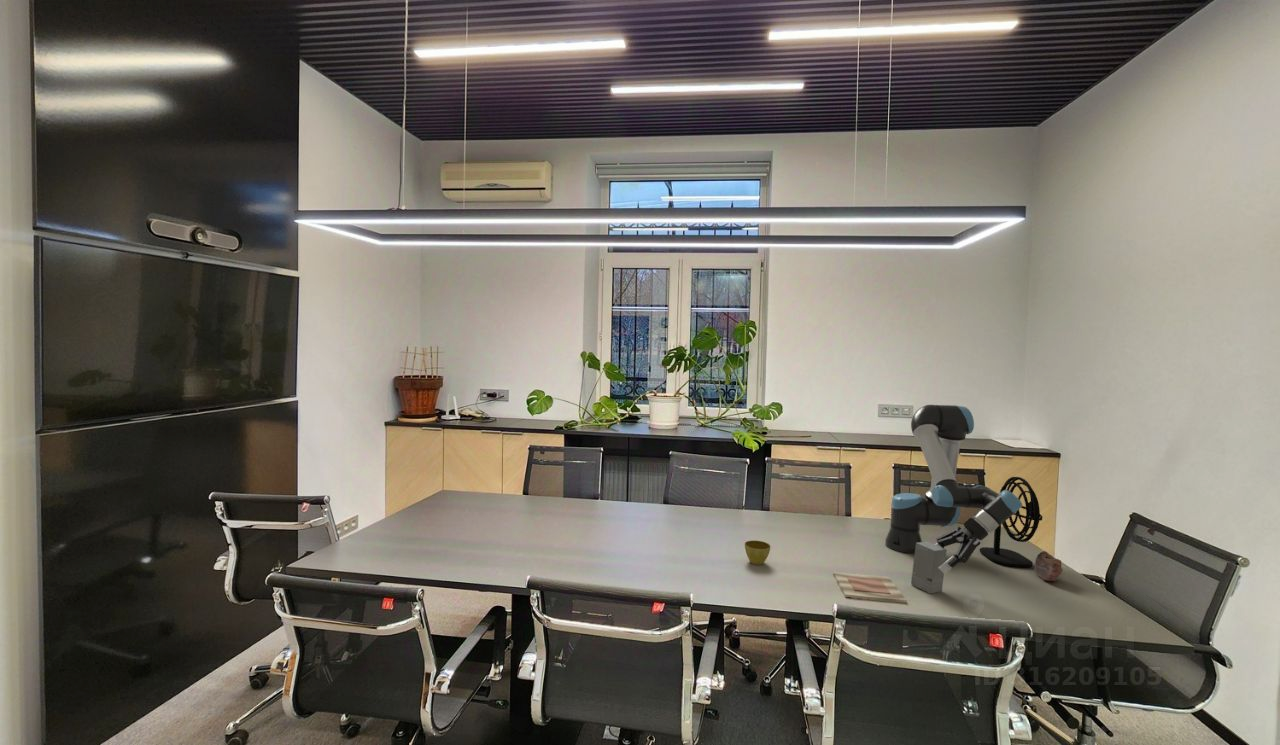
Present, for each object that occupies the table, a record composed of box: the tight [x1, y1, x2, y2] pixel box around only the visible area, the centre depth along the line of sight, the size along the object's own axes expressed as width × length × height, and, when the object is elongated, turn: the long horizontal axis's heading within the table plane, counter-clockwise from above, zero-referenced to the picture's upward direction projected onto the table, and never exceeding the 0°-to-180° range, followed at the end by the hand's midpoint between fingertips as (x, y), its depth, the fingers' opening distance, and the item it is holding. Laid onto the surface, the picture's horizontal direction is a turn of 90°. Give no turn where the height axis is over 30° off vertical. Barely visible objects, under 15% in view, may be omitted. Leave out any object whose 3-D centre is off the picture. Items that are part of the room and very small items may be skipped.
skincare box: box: [910, 541, 948, 594], centre depth 200 cm, size 8×7×16 cm
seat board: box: [832, 571, 907, 604], centre depth 199 cm, size 20×20×1 cm
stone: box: [1034, 550, 1064, 582], centre depth 213 cm, size 13×8×10 cm
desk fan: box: [979, 476, 1043, 568], centre depth 233 cm, size 27×18×35 cm, turn 173°
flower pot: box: [744, 540, 772, 566], centre depth 220 cm, size 10×10×7 cm
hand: (933, 563), depth 199 cm, fingers open, 13 cm apart
